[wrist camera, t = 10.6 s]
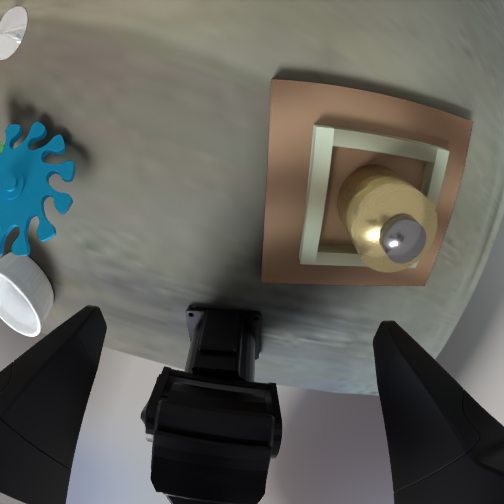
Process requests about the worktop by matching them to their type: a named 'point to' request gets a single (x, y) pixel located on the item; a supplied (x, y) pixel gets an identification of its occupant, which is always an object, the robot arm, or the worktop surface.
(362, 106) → the carrier board
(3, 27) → the wineglass
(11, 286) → the ramekin
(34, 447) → the robot arm
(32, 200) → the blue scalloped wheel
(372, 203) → the tan two-tone cylinder
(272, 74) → the worktop surface
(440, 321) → the worktop surface
